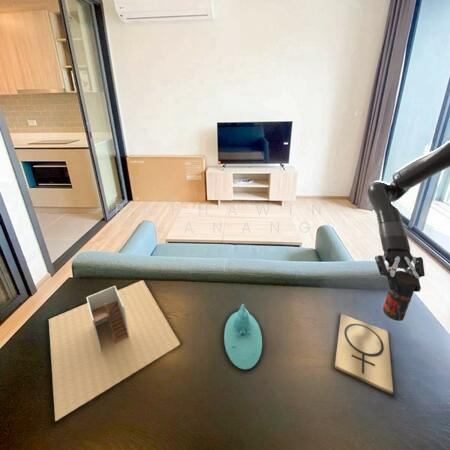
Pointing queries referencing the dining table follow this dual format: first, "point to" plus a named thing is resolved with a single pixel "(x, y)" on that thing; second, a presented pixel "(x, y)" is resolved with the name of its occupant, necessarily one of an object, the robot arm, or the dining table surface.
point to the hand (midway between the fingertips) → (405, 290)
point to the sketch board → (364, 353)
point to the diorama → (243, 339)
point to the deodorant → (400, 296)
